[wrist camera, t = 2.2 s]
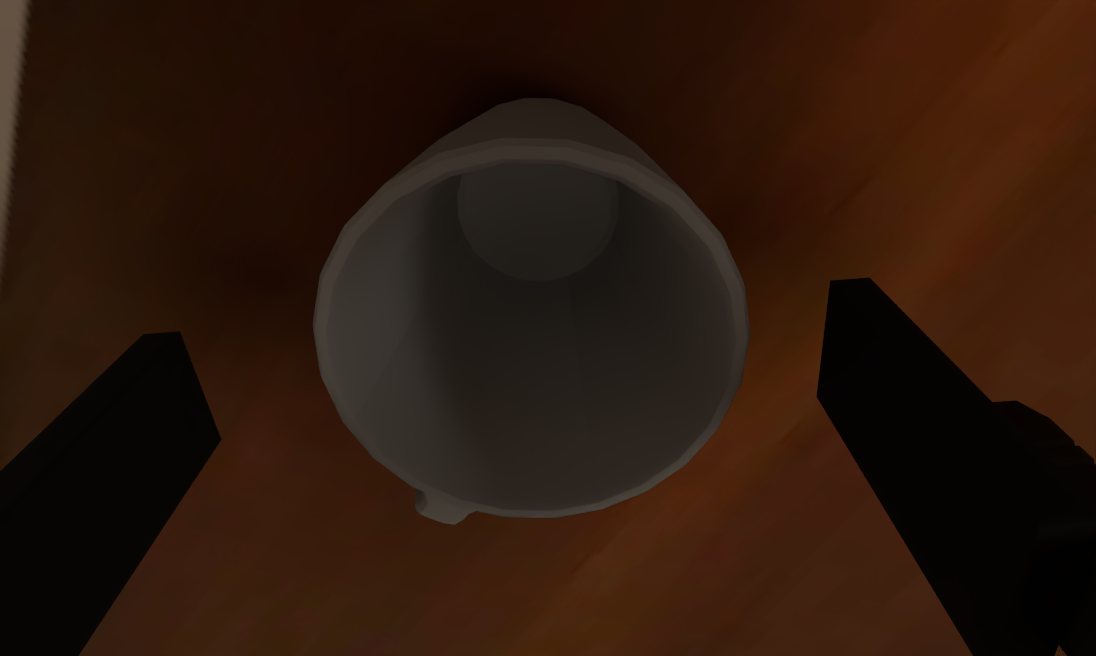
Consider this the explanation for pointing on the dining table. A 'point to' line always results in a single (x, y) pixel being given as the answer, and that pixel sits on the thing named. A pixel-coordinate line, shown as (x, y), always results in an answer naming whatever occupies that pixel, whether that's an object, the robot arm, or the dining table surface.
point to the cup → (531, 319)
